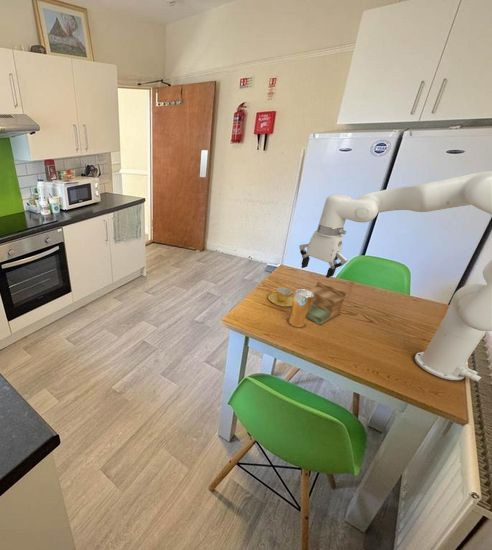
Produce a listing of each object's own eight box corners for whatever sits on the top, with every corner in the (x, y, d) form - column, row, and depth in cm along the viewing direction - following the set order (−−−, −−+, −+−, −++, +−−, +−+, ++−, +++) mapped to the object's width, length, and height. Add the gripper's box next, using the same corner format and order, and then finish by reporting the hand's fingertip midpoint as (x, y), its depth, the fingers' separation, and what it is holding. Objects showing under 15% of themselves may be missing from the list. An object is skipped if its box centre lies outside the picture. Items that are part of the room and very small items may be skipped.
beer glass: (283, 319, 129) (291, 289, 122) (297, 317, 130) (306, 287, 123) (294, 328, 123) (303, 298, 116) (309, 326, 124) (318, 296, 117)
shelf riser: (339, 313, 132) (346, 292, 127) (319, 324, 125) (327, 302, 120) (312, 301, 141) (318, 281, 136) (293, 311, 134) (298, 290, 129)
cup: (292, 295, 147) (294, 285, 144) (298, 308, 136) (301, 298, 134) (266, 292, 149) (268, 283, 147) (270, 305, 139) (272, 295, 137)
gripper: (361, 234, 102) (345, 278, 110) (312, 222, 115) (300, 261, 123) (349, 239, 99) (333, 283, 107) (300, 225, 112) (289, 265, 120)
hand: (316, 271), depth 115 cm, fingers open, 9 cm apart
